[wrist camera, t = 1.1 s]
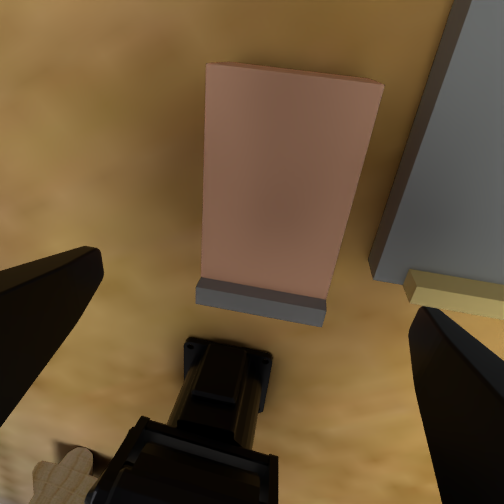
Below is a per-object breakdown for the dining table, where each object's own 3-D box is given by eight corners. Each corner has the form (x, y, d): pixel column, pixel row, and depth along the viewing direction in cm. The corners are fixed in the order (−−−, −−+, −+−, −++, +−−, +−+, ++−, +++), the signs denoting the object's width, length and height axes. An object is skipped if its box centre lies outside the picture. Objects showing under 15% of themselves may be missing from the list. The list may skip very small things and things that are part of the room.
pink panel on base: (320, 266, 20) (321, 327, 15) (221, 249, 20) (195, 303, 16) (367, 77, 15) (389, 87, 10) (233, 61, 15) (199, 63, 11)
